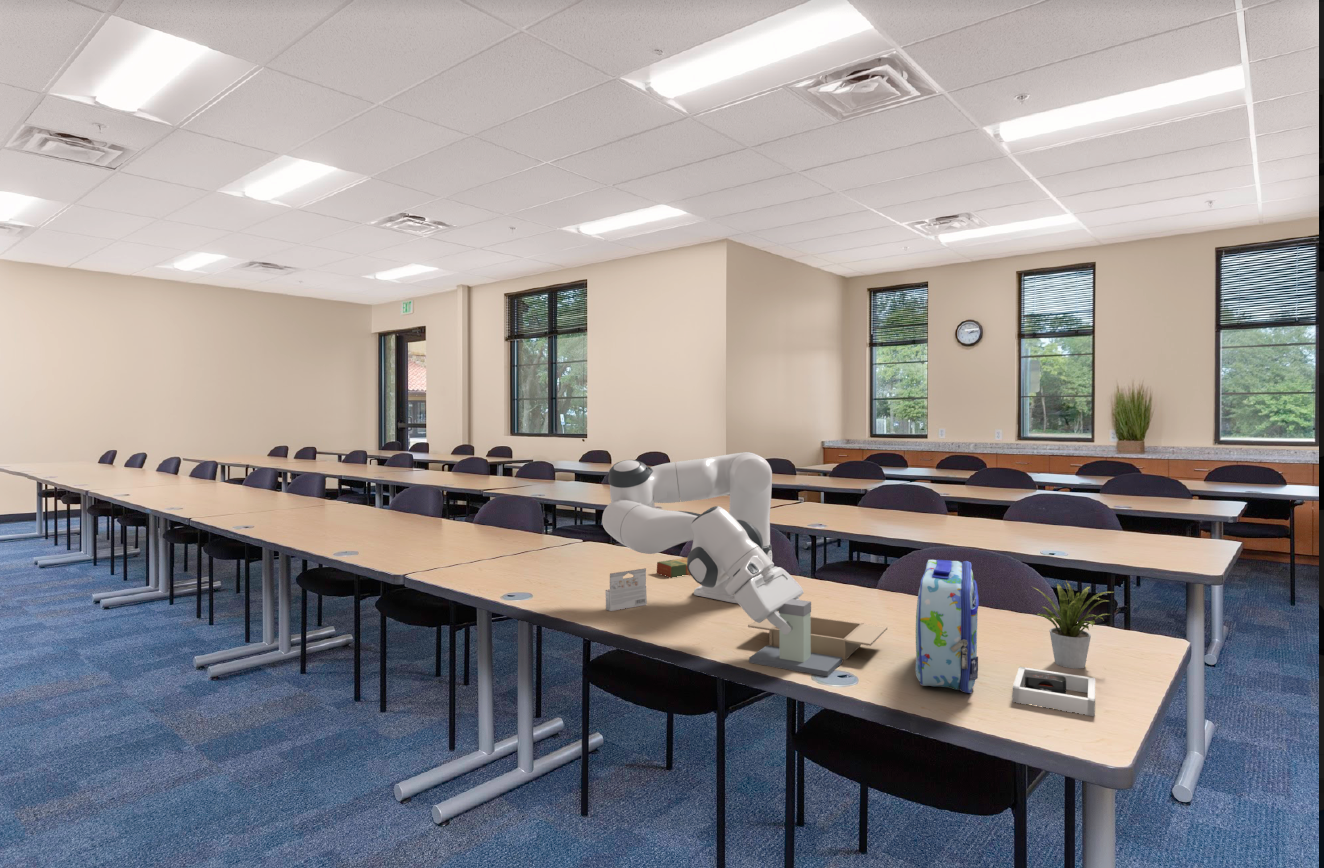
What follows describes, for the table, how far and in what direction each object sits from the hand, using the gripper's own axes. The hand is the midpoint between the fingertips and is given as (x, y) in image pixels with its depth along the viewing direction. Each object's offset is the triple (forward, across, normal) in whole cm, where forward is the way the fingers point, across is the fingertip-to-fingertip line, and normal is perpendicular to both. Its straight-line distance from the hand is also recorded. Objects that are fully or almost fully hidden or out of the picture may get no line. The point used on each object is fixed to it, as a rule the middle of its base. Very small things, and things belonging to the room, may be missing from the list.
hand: (798, 626), depth 144 cm
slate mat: (+5, 0, -6) cm, 7 cm away
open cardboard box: (+5, -13, -6) cm, 15 cm away
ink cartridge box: (-32, -19, -43) cm, 57 cm away
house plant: (+39, -25, +28) cm, 54 cm away
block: (+4, 0, -5) cm, 6 cm away
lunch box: (+24, -8, +13) cm, 29 cm away
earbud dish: (+37, -5, +26) cm, 45 cm away
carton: (-37, -63, -49) cm, 88 cm away
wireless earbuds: (+35, -5, +24) cm, 43 cm away
